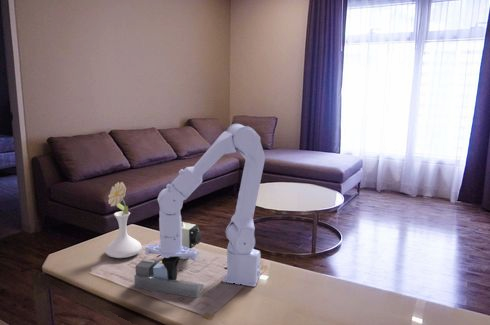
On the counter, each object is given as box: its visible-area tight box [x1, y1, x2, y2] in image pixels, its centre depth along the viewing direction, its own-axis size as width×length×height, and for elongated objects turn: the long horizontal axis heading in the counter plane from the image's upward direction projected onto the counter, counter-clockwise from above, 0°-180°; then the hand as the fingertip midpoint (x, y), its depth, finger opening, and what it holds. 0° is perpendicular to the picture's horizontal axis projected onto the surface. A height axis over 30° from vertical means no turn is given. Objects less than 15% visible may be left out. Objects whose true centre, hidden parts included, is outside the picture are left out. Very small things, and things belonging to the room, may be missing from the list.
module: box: [153, 260, 168, 279], centre depth 98 cm, size 4×4×5 cm
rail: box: [134, 258, 205, 298], centre depth 97 cm, size 18×5×6 cm, turn 76°
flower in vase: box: [104, 181, 143, 259], centre depth 114 cm, size 13×11×25 cm
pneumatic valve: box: [180, 221, 203, 260], centre depth 115 cm, size 6×12×12 cm, turn 70°
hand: (172, 280), depth 97 cm, fingers closed, pressing on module
